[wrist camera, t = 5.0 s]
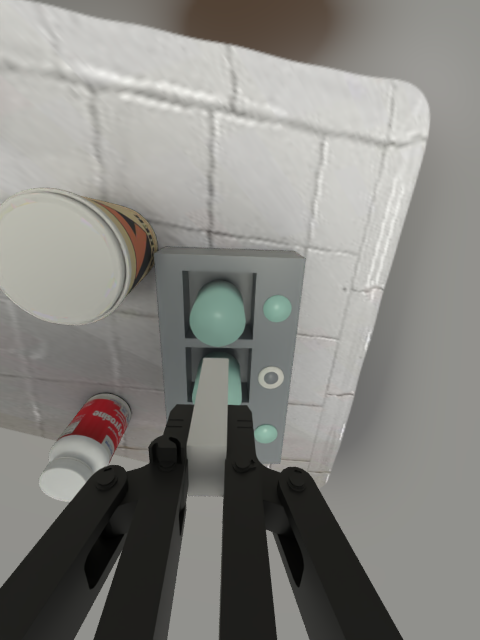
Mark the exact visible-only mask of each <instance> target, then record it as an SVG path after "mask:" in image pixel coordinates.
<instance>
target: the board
mask: <svg viewBox="0 0 480 640" xmlns="http://www.w3.org/2000/svg"><path fill="white" fill-rule="evenodd" d="M305 261H306V258H304V257H303V256H301V255H300V254H298V253H296V252H295V251H276V250H247V249H218V248H189V247H164V248H163V249H161V250H159V251H157V252H155V253H154V263H155V276H156V289H157V302H158V315H159V328H160V341H161V354H162V367H163V380H164V393H165V406H166V419H167V421H168V417H169V414H170V411H171V410H172V409H173V408H174V407H175V406H176V404H191V405H194V404H193V401H192V394H193V389H194V384H195V379H196V374H197V370H198V365H199V363H200V361H201V359H202V358H203V357H204V356H206V355H207V354H209V353H212V352H225V353H228V354H230V355H232V356H233V357H234V358H235V359H236V360H237V361H238V363H239V365H240V375H241V392H242V401H241V404H240V405H247V406H248V407H249V409H250V410H251V412H252V418H253V429H254V439H255V449H256V455H257V458H258V460H259V461H260V462H261V463H262V464H280V462H281V454H282V446H283V438H284V430H285V422H286V414H287V406H288V398H289V390H290V382H291V374H292V366H293V358H294V350H295V342H296V334H297V326H298V318H299V310H300V302H301V293H302V285H303V277H304V269H305ZM216 280H222V281H227V282H229V283H231V284H233V285H234V286H236V287H237V288H238V290H239V291H240V293H241V295H242V298H243V304H244V312H245V319H246V323H245V328H244V331H243V333H242V334H241V336H240V337H239V338H238V339H237V340H236V341H234V342H233V343H231V344H229V345H226V346H219V347H217V346H210V345H207V344H205V343H203V342H201V341H200V340H199V339H198V338H197V337H196V336H195V335H194V334H193V332H192V330H191V327H190V321H189V320H190V313H191V310H192V308H193V305H194V303H195V300H196V298H197V295H198V293H199V291H200V290H201V288H202V287H203V286H204V285H206V284H207V283H209V282H212V281H216Z"/></svg>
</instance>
